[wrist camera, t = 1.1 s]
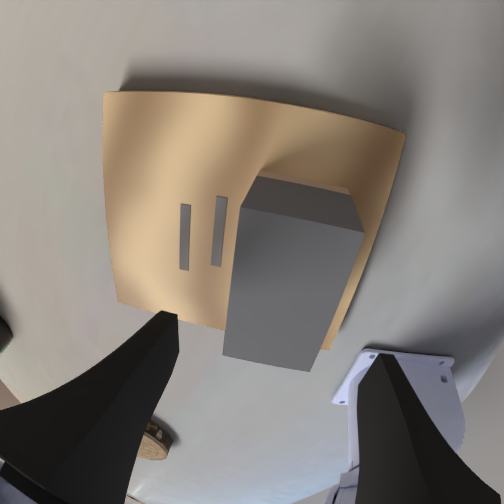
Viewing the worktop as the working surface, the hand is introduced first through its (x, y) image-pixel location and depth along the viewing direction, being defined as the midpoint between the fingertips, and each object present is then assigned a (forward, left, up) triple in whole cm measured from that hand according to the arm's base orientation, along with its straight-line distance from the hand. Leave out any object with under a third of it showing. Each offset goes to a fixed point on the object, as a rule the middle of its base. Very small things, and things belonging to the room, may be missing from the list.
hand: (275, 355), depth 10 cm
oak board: (+3, 0, -9) cm, 10 cm away
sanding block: (0, 0, -8) cm, 8 cm away
